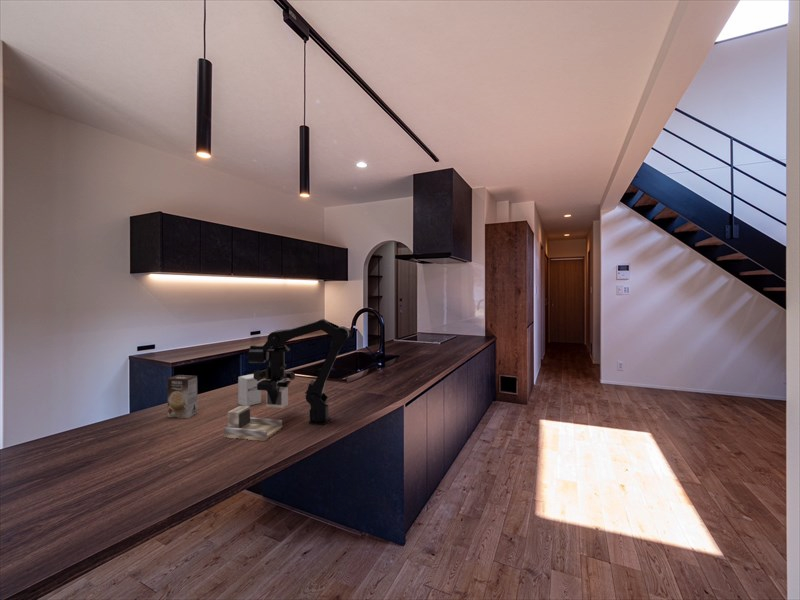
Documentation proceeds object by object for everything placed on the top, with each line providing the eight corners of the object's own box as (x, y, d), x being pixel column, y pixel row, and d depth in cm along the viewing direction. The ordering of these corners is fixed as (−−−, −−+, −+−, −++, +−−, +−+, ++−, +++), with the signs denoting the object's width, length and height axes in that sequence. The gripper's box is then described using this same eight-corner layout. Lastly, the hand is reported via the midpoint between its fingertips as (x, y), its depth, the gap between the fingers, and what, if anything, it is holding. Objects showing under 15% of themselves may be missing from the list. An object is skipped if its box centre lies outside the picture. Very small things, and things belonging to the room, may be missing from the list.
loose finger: (271, 403, 140) (271, 386, 140) (288, 404, 139) (288, 387, 138) (265, 407, 135) (265, 389, 135) (282, 408, 134) (282, 390, 134)
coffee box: (166, 417, 141) (166, 378, 140) (178, 412, 147) (177, 374, 147) (187, 418, 140) (187, 379, 140) (198, 413, 146) (198, 375, 146)
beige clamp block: (282, 427, 131) (282, 406, 131) (265, 441, 120) (264, 417, 119) (244, 424, 134) (243, 403, 134) (223, 437, 123) (223, 414, 122)
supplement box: (246, 407, 154) (246, 378, 154) (237, 403, 158) (237, 376, 158) (261, 402, 160) (261, 375, 159) (253, 399, 164) (253, 373, 164)
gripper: (271, 357, 147) (271, 393, 147) (243, 366, 129) (243, 408, 129) (295, 358, 145) (295, 395, 146) (271, 368, 127) (271, 410, 127)
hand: (277, 402), depth 137 cm, fingers closed on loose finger, 5 cm apart
